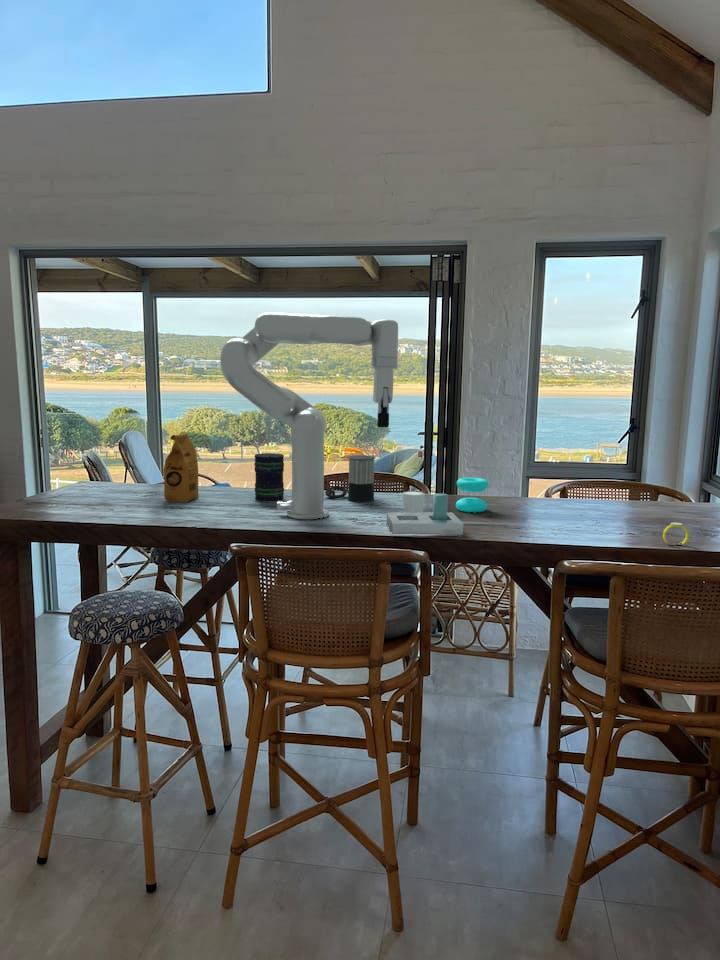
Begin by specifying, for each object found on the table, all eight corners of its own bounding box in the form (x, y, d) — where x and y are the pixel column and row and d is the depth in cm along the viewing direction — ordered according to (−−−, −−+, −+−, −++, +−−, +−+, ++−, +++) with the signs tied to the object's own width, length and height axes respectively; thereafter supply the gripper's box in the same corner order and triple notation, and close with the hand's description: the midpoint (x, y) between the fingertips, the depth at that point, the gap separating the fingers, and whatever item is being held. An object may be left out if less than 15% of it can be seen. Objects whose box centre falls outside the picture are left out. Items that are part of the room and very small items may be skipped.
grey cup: (423, 518, 201) (423, 495, 200) (400, 517, 202) (400, 494, 201) (425, 513, 208) (426, 491, 206) (403, 512, 209) (404, 490, 208)
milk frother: (377, 502, 225) (378, 458, 222) (331, 503, 221) (331, 459, 219) (367, 494, 238) (367, 453, 236) (323, 495, 235) (323, 453, 232)
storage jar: (254, 496, 231) (253, 453, 229) (283, 495, 233) (282, 453, 230) (255, 502, 221) (254, 457, 219) (285, 501, 223) (285, 456, 221)
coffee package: (159, 502, 219) (156, 434, 215) (175, 495, 231) (173, 431, 227) (188, 503, 217) (186, 435, 214) (203, 496, 229) (201, 432, 226)
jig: (392, 536, 179) (392, 523, 178) (386, 524, 192) (386, 512, 192) (462, 536, 180) (463, 523, 180) (451, 524, 194) (452, 512, 193)
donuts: (454, 476, 218) (485, 477, 218) (453, 506, 219) (483, 507, 219) (459, 481, 208) (491, 482, 208) (458, 513, 209) (490, 513, 209)
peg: (433, 531, 184) (434, 496, 183) (430, 528, 188) (432, 493, 187) (447, 531, 185) (449, 496, 183) (445, 528, 189) (446, 493, 187)
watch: (664, 547, 173) (665, 524, 172) (661, 544, 176) (661, 522, 175) (689, 547, 172) (689, 524, 172) (685, 544, 175) (686, 521, 174)
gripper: (369, 363, 202) (368, 424, 205) (373, 363, 187) (372, 429, 190) (394, 364, 202) (392, 425, 205) (400, 363, 188) (399, 429, 191)
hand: (383, 426), depth 198 cm, fingers closed
